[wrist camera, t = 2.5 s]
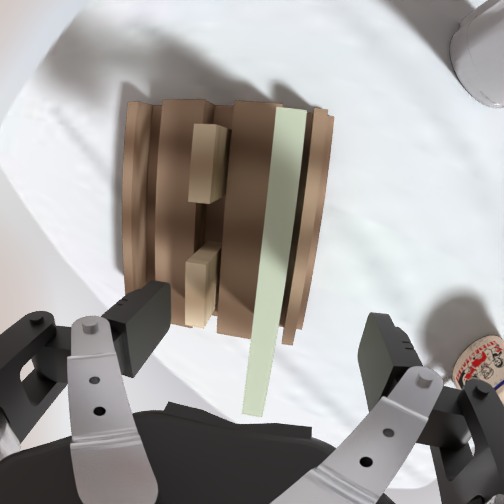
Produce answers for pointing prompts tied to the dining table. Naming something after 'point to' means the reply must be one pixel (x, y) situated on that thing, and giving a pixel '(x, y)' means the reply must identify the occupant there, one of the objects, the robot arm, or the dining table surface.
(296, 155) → the panel
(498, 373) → the teacup with lid
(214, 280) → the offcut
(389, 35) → the dining table surface
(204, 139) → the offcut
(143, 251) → the rack
